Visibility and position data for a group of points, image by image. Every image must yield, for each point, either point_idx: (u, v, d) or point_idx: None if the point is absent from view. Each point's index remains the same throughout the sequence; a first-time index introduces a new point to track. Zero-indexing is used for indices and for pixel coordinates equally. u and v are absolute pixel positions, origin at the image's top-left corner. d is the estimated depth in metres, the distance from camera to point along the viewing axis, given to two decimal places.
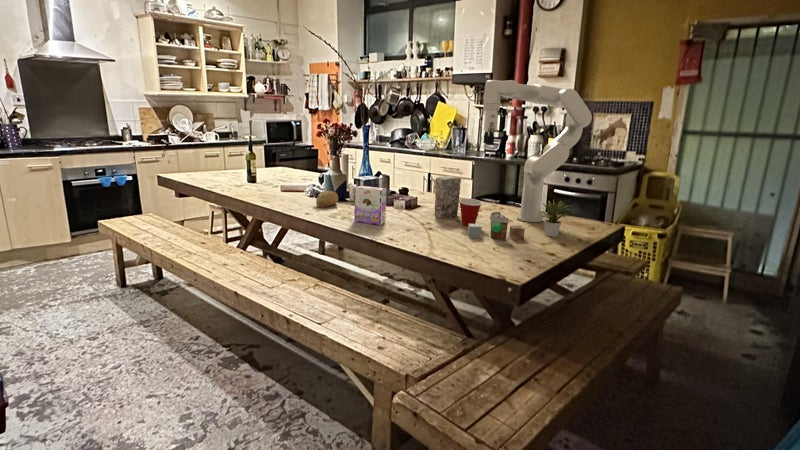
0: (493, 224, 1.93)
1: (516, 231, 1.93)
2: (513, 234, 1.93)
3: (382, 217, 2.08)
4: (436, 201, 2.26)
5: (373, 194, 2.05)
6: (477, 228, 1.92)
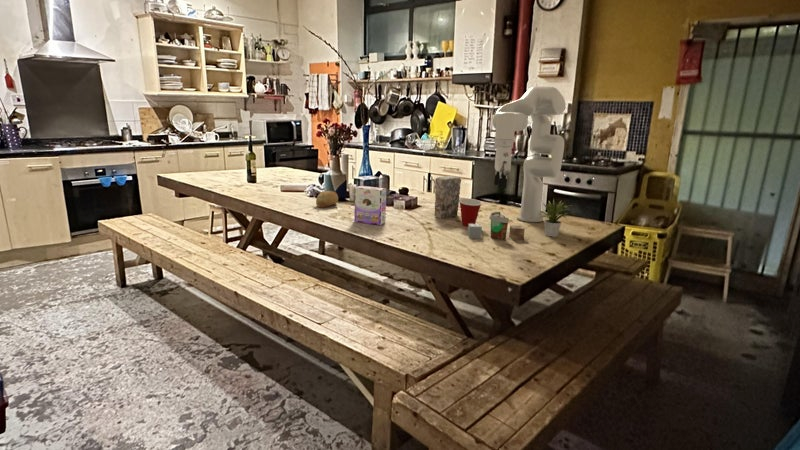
0: (493, 224, 1.93)
1: (516, 231, 1.93)
2: (513, 234, 1.93)
3: (382, 217, 2.08)
4: (436, 201, 2.26)
5: (373, 194, 2.05)
6: (477, 228, 1.92)
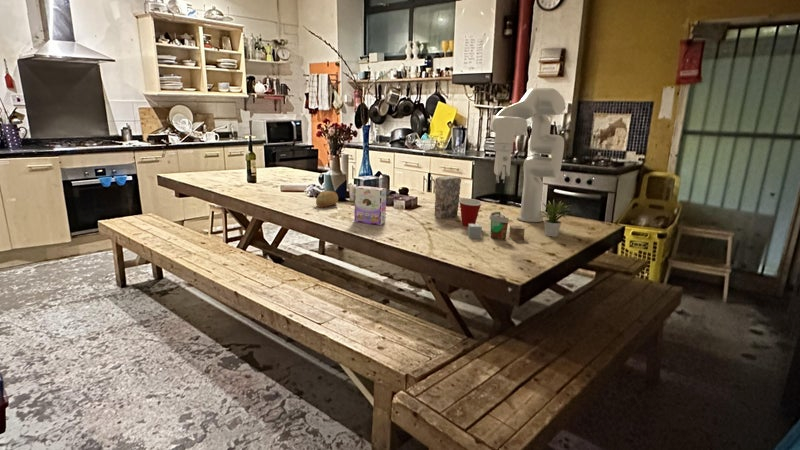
0: (493, 224, 1.93)
1: (516, 231, 1.93)
2: (513, 234, 1.93)
3: (382, 217, 2.08)
4: (436, 201, 2.26)
5: (373, 194, 2.05)
6: (477, 228, 1.92)
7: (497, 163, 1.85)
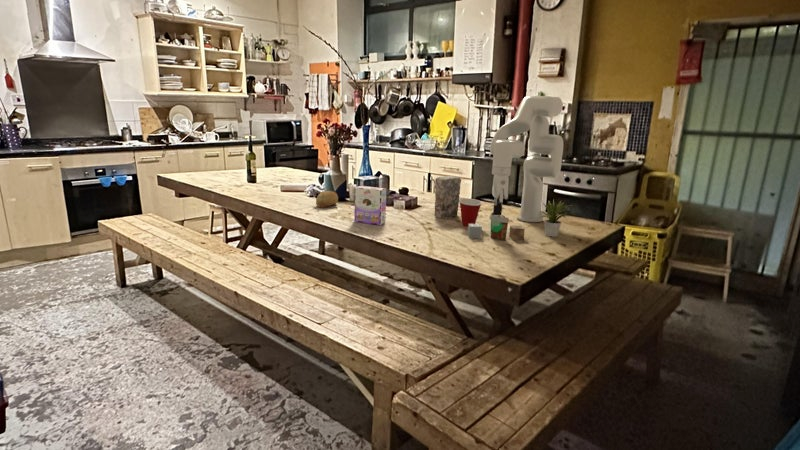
0: (493, 224, 1.93)
1: (516, 231, 1.93)
2: (513, 234, 1.93)
3: (382, 217, 2.08)
4: (436, 201, 2.26)
5: (373, 194, 2.05)
6: (477, 228, 1.92)
7: (495, 186, 1.88)
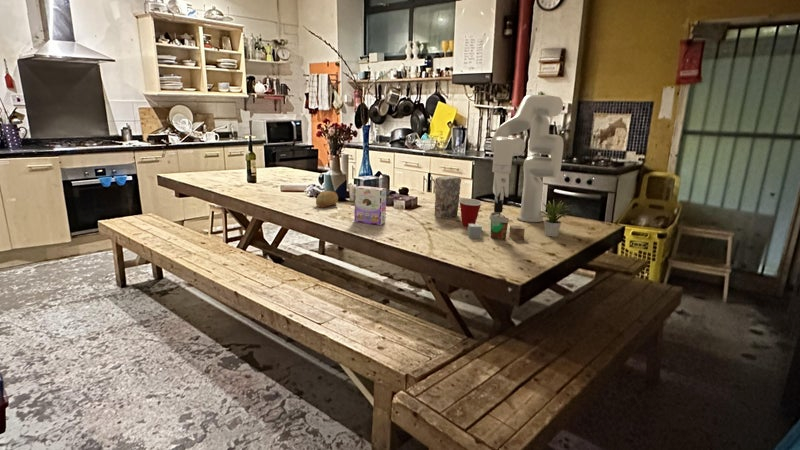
0: (493, 224, 1.93)
1: (516, 231, 1.93)
2: (513, 234, 1.93)
3: (382, 217, 2.08)
4: (436, 201, 2.26)
5: (373, 194, 2.05)
6: (477, 228, 1.92)
7: (496, 184, 1.88)
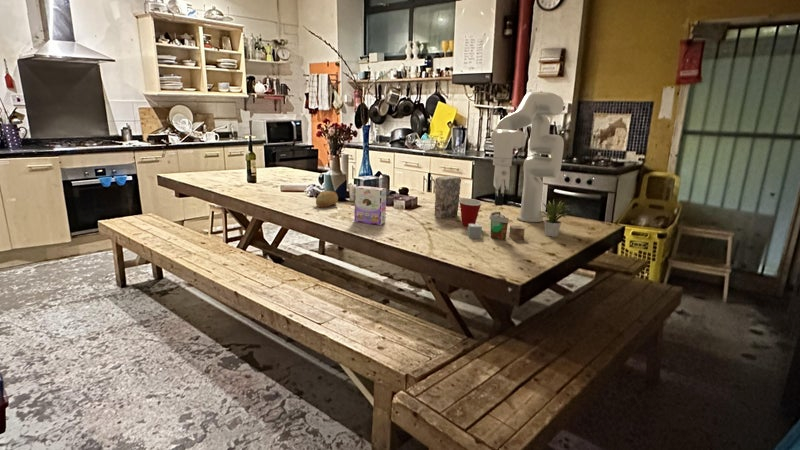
0: (493, 224, 1.93)
1: (516, 231, 1.93)
2: (513, 234, 1.93)
3: (382, 217, 2.08)
4: (436, 201, 2.26)
5: (373, 194, 2.05)
6: (477, 228, 1.92)
7: (496, 177, 1.87)
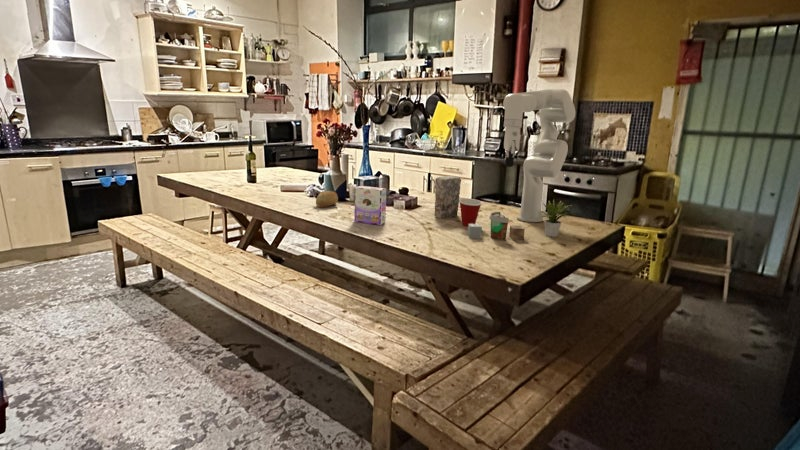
0: (493, 224, 1.93)
1: (516, 231, 1.93)
2: (513, 234, 1.93)
3: (382, 217, 2.08)
4: (436, 201, 2.26)
5: (373, 194, 2.05)
6: (477, 228, 1.92)
7: (507, 138, 1.97)
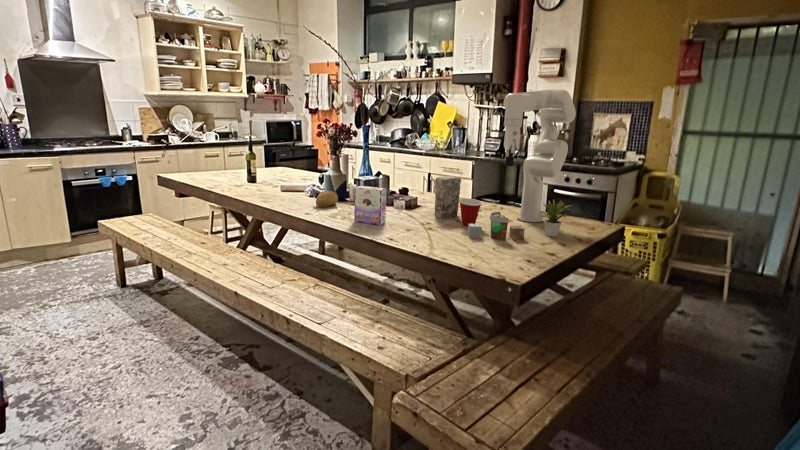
0: (493, 224, 1.93)
1: (516, 231, 1.93)
2: (513, 234, 1.93)
3: (382, 217, 2.08)
4: (436, 201, 2.26)
5: (373, 194, 2.05)
6: (477, 228, 1.92)
7: (507, 138, 1.97)
